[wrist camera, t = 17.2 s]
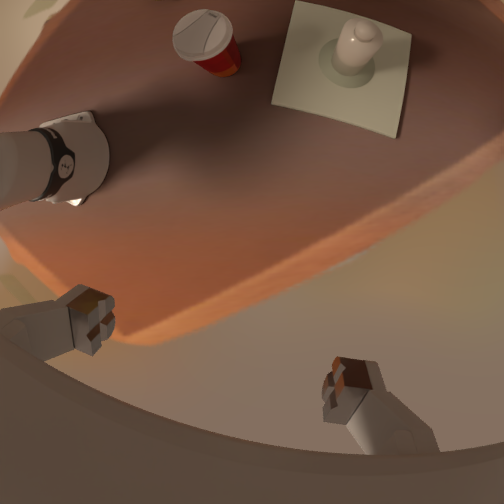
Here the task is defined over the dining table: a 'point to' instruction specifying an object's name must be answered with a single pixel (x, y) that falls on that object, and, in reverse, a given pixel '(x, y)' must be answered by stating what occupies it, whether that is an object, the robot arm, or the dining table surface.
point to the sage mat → (333, 83)
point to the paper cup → (207, 42)
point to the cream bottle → (356, 46)
